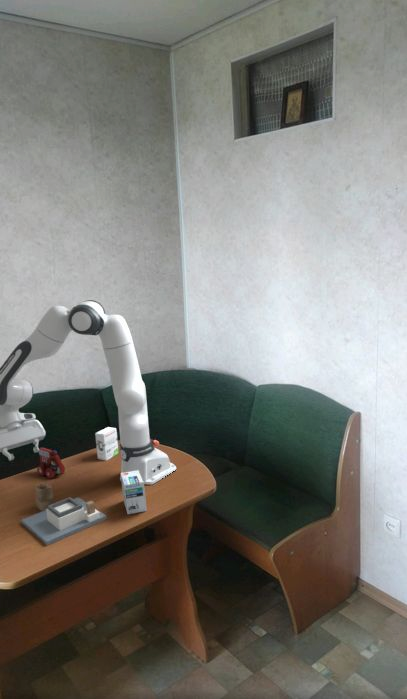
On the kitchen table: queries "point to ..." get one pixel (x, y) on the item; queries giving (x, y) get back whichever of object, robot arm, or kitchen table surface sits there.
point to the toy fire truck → (49, 463)
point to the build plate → (53, 531)
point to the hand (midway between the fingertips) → (24, 455)
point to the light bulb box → (133, 492)
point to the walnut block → (43, 496)
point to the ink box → (106, 443)
